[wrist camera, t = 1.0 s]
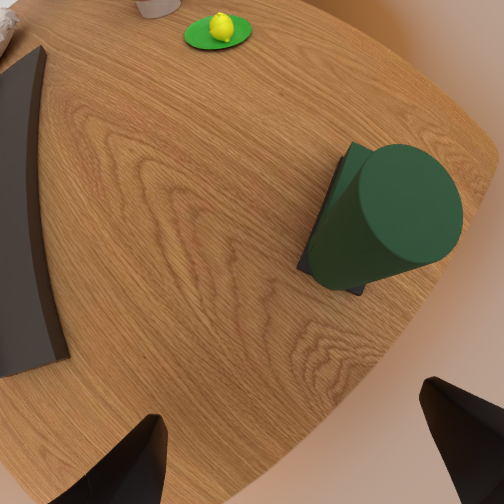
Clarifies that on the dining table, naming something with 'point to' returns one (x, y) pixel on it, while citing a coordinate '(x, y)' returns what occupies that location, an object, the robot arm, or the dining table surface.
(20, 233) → the shoe shelf
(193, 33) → the green flat round tray
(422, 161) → the green cylinder on block
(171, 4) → the coffee cup
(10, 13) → the bowl
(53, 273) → the dining table surface
